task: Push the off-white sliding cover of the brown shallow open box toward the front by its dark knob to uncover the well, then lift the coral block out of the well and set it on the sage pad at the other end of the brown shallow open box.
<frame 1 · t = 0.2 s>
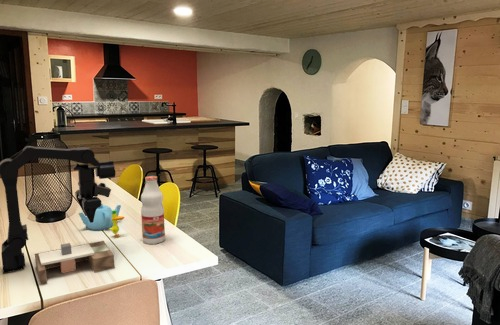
hand: (89, 219, 153), 14 cm above the table, tool pointing down, fingers open, 9 cm apart
teapot: (101, 226, 186), on the table
toy figure: (117, 236, 172), on the table
cover: (66, 250, 140), point 7 cm above the table, slide at 0.0 cm
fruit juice: (153, 240, 168), on the table
block: (67, 269, 141), on the table
brown shallow open box: (75, 267, 142), on the table
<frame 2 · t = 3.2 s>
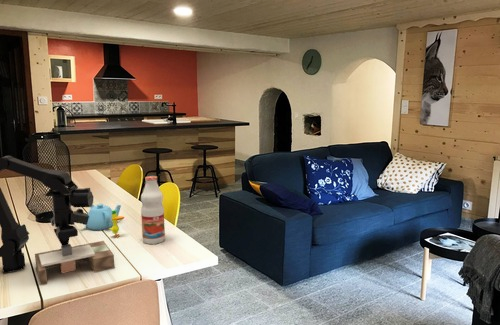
hand: (65, 248, 141), 7 cm above the table, tool pointing down, fingers closed
cover: (66, 251, 139), point 7 cm above the table, slide at 1.1 cm, touching gripper
everything else where it was.
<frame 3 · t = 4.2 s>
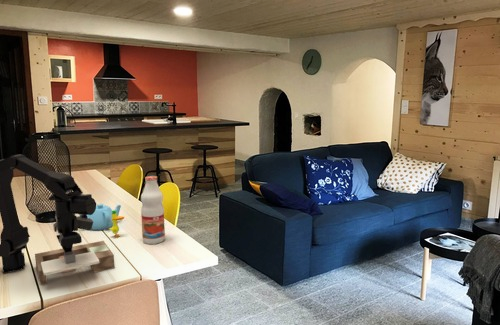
hand: (68, 255, 135), 7 cm above the table, tool pointing down, fingers closed
cover: (69, 258, 133), point 7 cm above the table, slide at 8.4 cm, touching gripper
everything else where it was.
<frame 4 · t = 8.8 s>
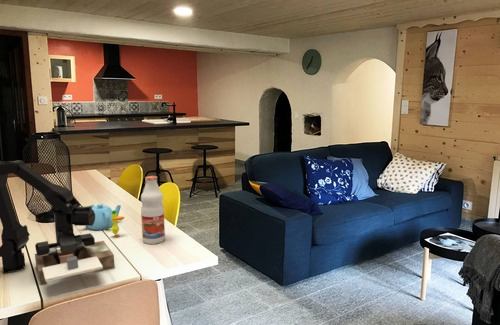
hand: (67, 266, 141), 1 cm above the table, tool pointing down, fingers closed on block, 4 cm apart
cover: (72, 263, 129), point 7 cm above the table, slide at 13.3 cm
block: (67, 269, 141), on the table, touching gripper
everything else where it was.
when the fingers open (7 cm above the table, at t = 12.1 s): block drops 1 cm, resting on brown shallow open box.
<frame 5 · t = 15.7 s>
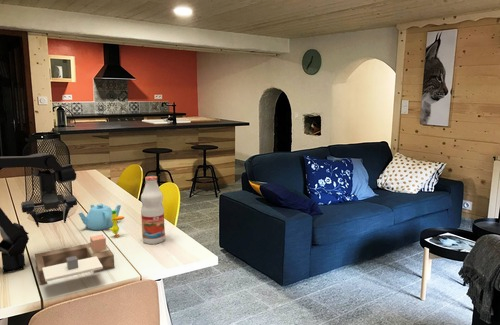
hand: (51, 224, 151), 12 cm above the table, tool pointing down, fingers open, 9 cm apart
block: (98, 248, 146), point 5 cm above the table, touching brown shallow open box
everything else where it was.
at the end: cover slide at 13.3 cm; block 0.0 cm from the target spot on the brown shallow open box, point 5.2 cm above the brown shallow open box's base; block tilted 0° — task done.
